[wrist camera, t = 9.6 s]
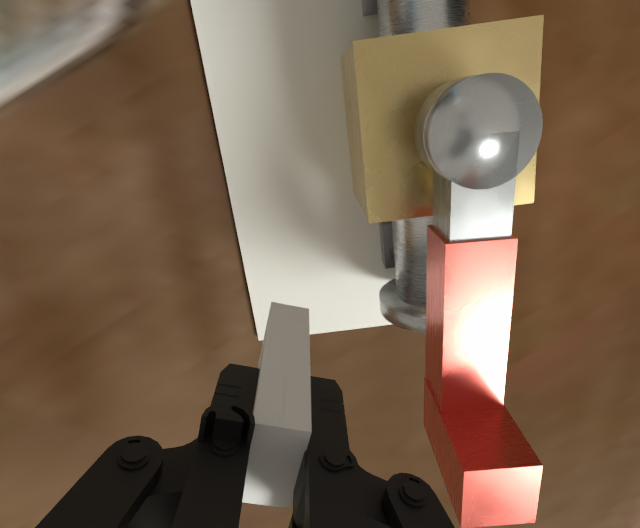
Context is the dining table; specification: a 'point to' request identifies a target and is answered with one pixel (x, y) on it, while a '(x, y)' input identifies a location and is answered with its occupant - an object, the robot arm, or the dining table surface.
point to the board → (292, 155)
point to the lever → (476, 293)
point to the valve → (400, 118)
